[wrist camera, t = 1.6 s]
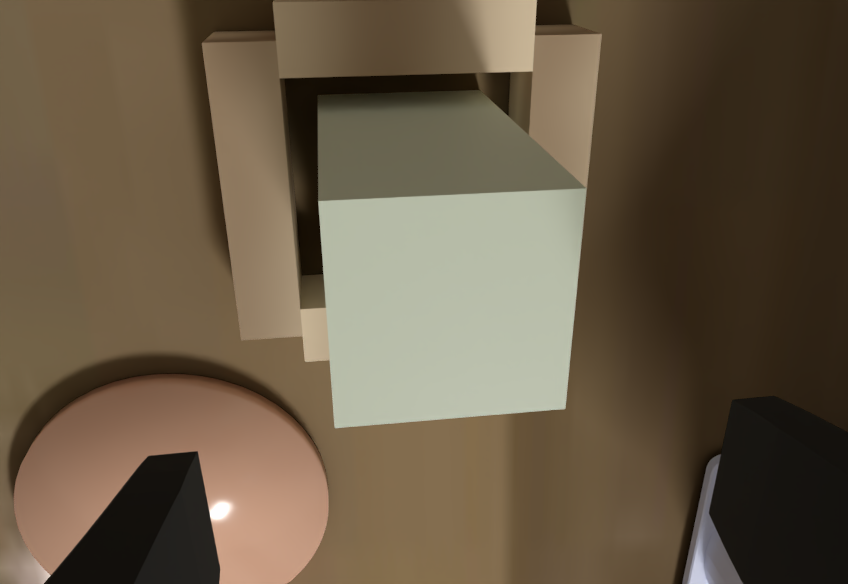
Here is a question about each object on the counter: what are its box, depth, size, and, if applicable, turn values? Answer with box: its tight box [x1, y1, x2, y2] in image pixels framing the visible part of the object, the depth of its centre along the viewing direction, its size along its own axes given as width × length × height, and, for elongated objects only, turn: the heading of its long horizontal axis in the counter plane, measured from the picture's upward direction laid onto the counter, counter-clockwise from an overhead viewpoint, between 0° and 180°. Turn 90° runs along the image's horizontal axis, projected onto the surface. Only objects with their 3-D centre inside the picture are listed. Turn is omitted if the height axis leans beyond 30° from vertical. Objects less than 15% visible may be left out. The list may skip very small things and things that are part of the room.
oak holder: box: [202, 0, 602, 362], centre depth 18 cm, size 8×8×2 cm
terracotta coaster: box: [14, 374, 329, 584], centre depth 22 cm, size 9×9×1 cm
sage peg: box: [318, 90, 587, 428], centre depth 15 cm, size 4×4×8 cm
